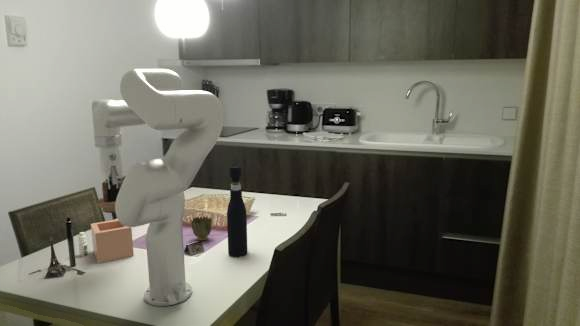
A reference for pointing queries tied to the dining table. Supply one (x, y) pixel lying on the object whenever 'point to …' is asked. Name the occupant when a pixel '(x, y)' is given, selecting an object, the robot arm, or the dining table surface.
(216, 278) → the dining table surface
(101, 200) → the lid
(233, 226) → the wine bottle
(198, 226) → the cup
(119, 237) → the open-top pink box
